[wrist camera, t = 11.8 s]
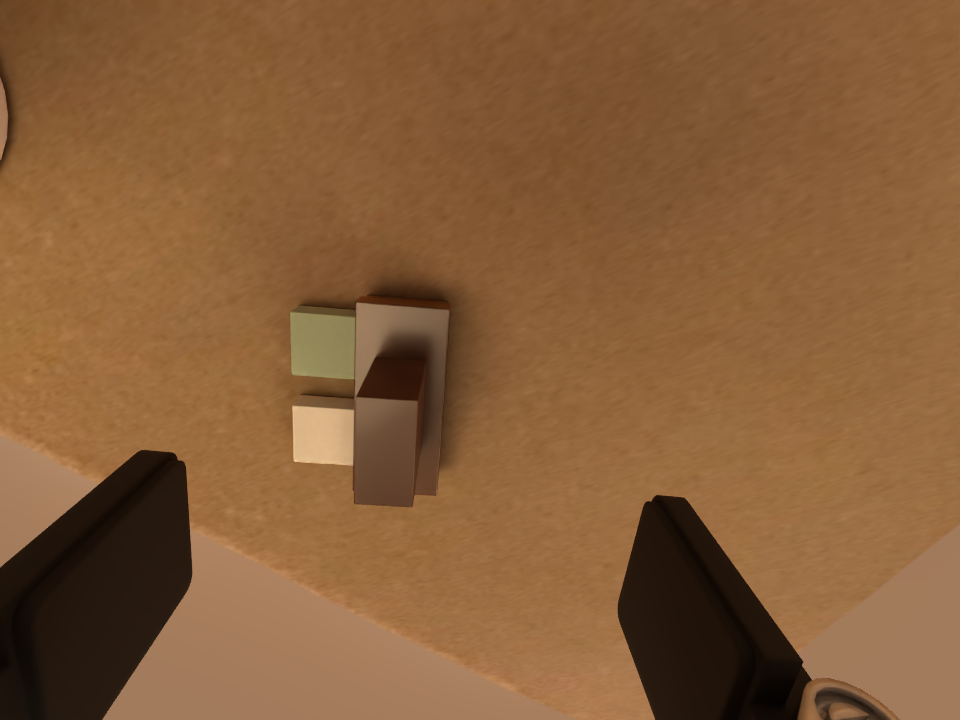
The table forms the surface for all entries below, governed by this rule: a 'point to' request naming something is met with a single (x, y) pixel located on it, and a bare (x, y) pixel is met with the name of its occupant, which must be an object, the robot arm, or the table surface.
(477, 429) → the table surface
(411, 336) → the brown inverted t block
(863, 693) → the robot arm
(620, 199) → the table surface
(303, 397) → the chip
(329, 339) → the chip
